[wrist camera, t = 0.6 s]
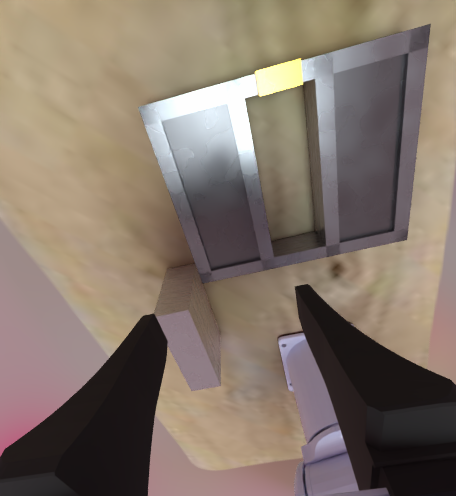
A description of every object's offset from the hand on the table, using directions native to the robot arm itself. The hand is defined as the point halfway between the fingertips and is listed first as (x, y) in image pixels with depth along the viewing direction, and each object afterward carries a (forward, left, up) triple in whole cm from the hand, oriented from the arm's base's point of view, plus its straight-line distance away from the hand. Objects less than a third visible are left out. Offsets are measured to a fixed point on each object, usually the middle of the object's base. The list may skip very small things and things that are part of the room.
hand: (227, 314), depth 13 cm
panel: (-7, +5, -10) cm, 13 cm away
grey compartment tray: (+3, -5, -10) cm, 12 cm away
